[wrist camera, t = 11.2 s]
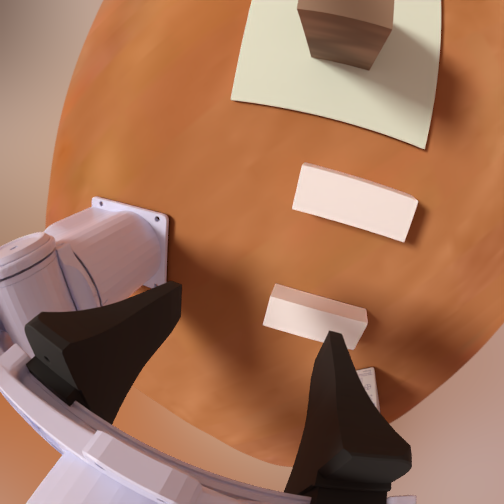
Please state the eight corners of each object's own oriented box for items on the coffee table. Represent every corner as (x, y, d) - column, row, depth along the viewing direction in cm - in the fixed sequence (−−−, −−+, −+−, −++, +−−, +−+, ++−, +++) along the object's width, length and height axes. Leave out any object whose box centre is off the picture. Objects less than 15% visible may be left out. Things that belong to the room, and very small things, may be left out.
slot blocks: (268, 311, 24) (262, 325, 22) (304, 162, 18) (302, 164, 17) (353, 335, 23) (353, 350, 21) (410, 194, 17) (418, 201, 15)
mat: (232, 100, 18) (230, 99, 18) (264, -42, 12) (263, -44, 11) (422, 149, 16) (424, 149, 15) (439, -4, 9) (440, -6, 9)
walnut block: (311, 57, 15) (296, 8, 8) (320, 2, 13) (309, -61, 6) (369, 70, 14) (392, 29, 7) (376, 14, 12) (394, -44, 5)
